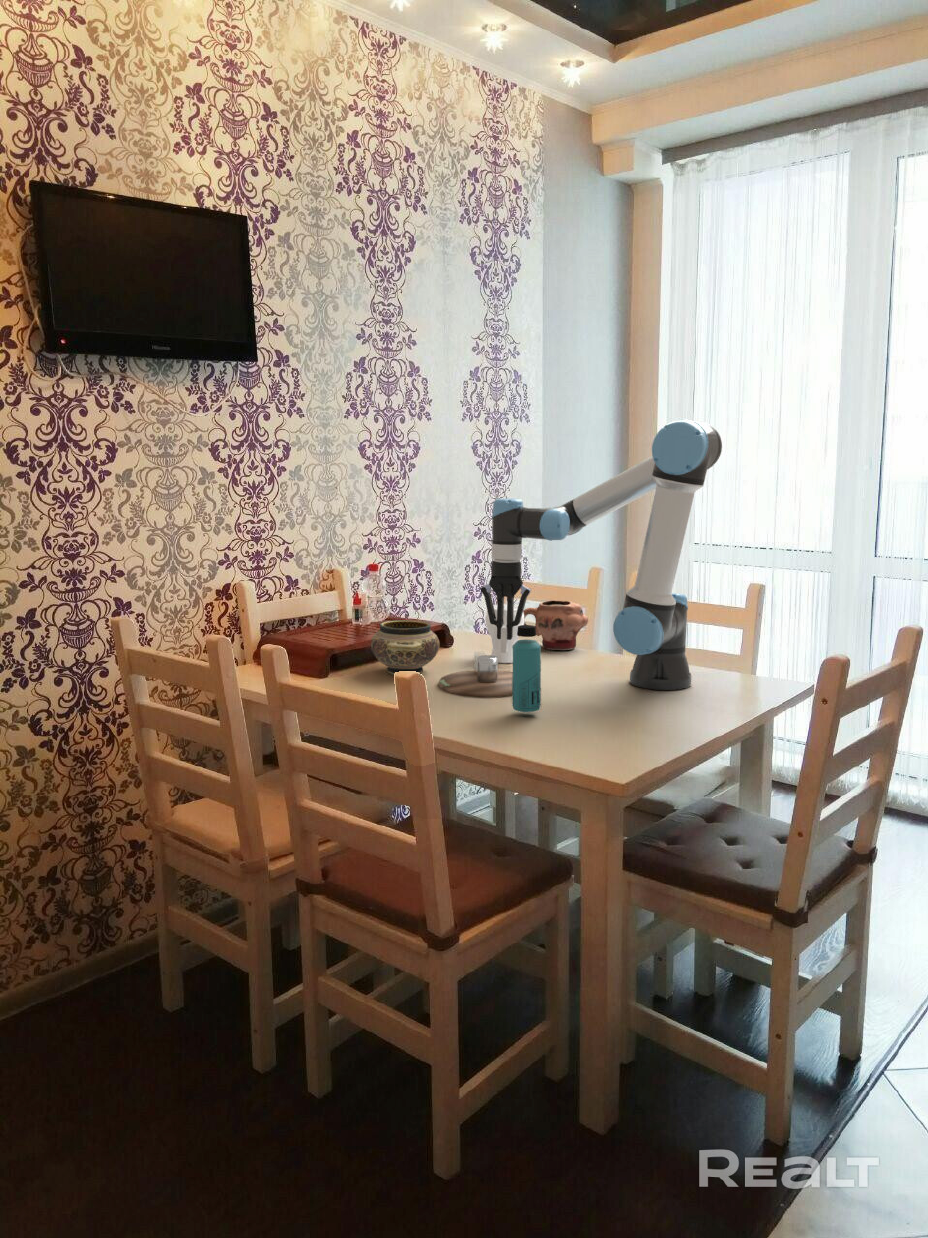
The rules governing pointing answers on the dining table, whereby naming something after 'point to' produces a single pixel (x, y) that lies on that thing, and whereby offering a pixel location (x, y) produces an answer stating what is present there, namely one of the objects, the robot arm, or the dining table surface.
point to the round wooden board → (477, 684)
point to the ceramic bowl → (405, 645)
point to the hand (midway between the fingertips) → (504, 651)
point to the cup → (497, 642)
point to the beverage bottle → (526, 671)
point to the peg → (486, 667)
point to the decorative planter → (558, 623)
